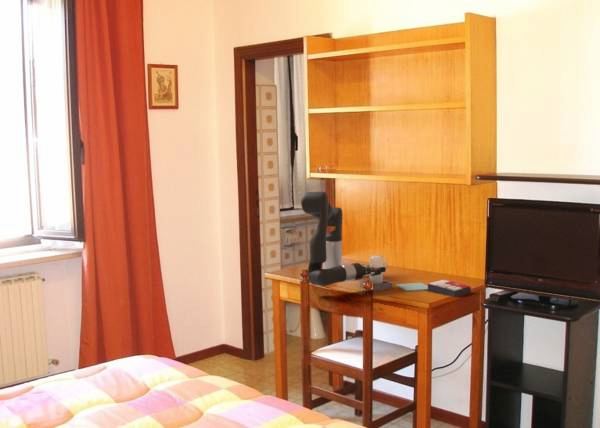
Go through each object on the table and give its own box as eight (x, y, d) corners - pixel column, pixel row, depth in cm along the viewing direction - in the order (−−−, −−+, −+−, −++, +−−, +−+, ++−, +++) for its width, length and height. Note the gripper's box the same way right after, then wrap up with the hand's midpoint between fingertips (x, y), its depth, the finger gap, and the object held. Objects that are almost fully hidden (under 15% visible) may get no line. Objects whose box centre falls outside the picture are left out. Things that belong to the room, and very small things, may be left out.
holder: (374, 291, 301) (374, 285, 301) (359, 286, 310) (359, 281, 309) (392, 288, 307) (392, 282, 306) (377, 283, 315) (377, 278, 315)
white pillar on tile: (374, 289, 304) (375, 258, 302) (366, 286, 309) (366, 256, 307) (389, 287, 308) (389, 256, 307) (380, 284, 313) (381, 254, 312)
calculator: (456, 289, 288) (427, 282, 300) (455, 299, 289) (427, 291, 300) (471, 285, 295) (443, 278, 307) (470, 295, 296) (442, 287, 307)
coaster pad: (396, 285, 311) (396, 284, 311) (421, 284, 314) (421, 282, 314) (406, 291, 300) (406, 290, 300) (431, 289, 302) (431, 288, 302)
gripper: (360, 266, 293) (390, 262, 302) (340, 261, 305) (370, 257, 314) (360, 283, 294) (390, 279, 303) (340, 278, 306) (370, 273, 315)
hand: (380, 268), depth 308 cm, fingers closed on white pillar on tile, 6 cm apart
